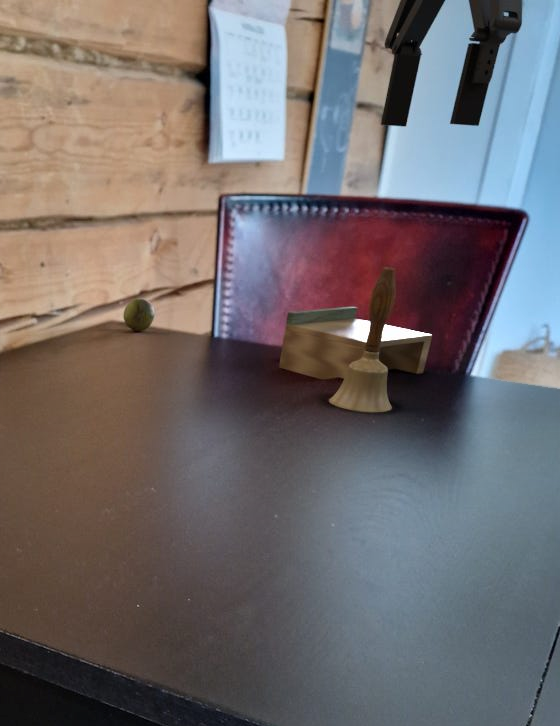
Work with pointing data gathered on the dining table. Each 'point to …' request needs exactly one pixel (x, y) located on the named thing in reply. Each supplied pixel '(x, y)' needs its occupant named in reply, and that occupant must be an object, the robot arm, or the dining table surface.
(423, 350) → the shelf
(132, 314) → the lime
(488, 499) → the dining table surface
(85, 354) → the dining table surface
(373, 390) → the hand bell
